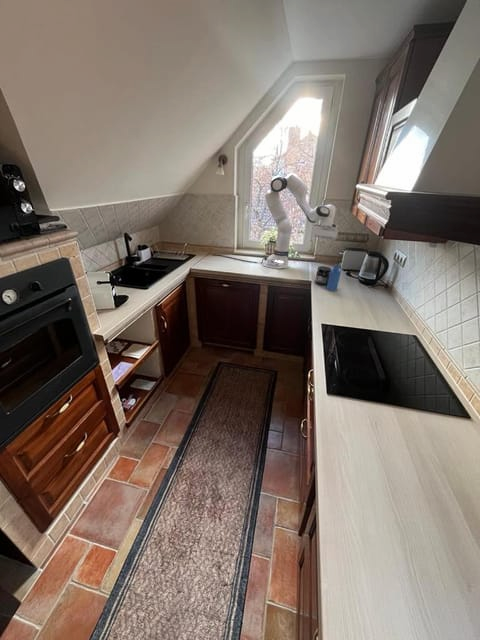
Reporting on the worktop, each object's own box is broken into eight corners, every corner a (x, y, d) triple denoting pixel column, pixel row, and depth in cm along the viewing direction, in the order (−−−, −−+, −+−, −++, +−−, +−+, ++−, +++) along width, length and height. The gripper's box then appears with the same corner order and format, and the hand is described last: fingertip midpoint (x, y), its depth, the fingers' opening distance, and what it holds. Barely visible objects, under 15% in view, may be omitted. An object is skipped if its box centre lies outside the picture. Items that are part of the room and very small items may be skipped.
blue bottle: (326, 290, 182) (331, 265, 173) (326, 286, 187) (331, 263, 178) (336, 291, 180) (342, 267, 171) (336, 288, 186) (341, 264, 177)
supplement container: (327, 281, 197) (330, 266, 191) (329, 286, 188) (333, 270, 182) (313, 280, 198) (316, 265, 192) (315, 285, 189) (318, 270, 183)
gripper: (313, 222, 202) (309, 239, 202) (339, 225, 197) (335, 243, 197) (313, 225, 208) (309, 242, 208) (338, 229, 203) (334, 245, 203)
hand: (322, 242), depth 203 cm, fingers closed
